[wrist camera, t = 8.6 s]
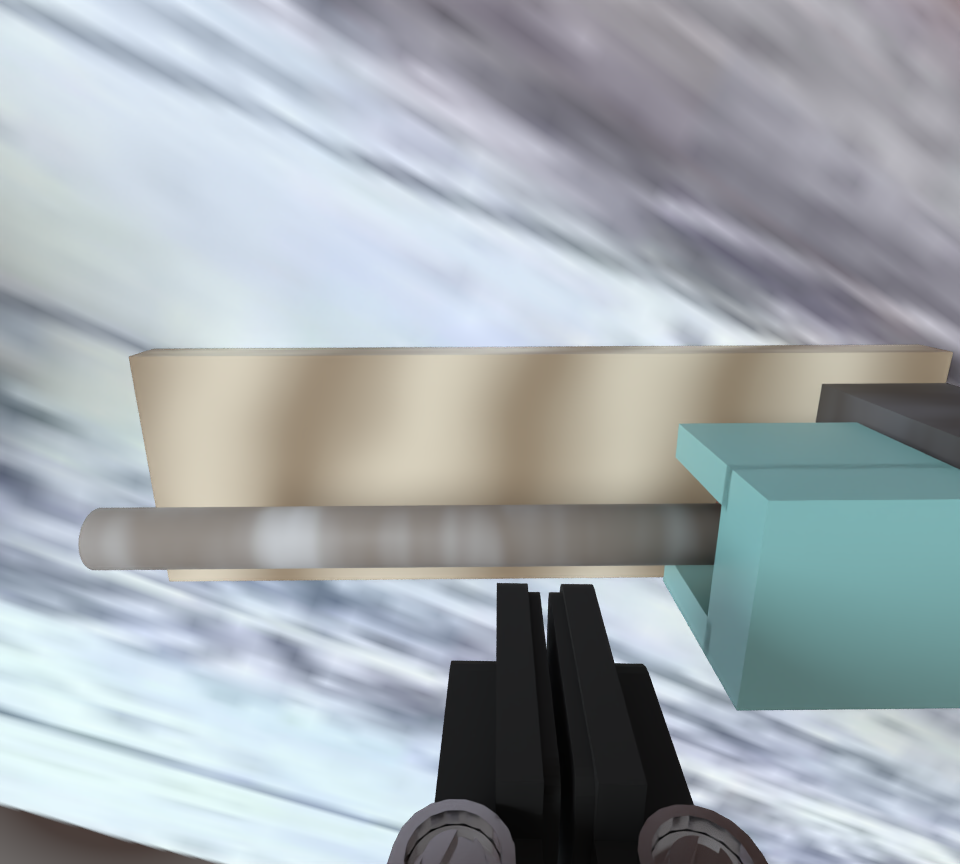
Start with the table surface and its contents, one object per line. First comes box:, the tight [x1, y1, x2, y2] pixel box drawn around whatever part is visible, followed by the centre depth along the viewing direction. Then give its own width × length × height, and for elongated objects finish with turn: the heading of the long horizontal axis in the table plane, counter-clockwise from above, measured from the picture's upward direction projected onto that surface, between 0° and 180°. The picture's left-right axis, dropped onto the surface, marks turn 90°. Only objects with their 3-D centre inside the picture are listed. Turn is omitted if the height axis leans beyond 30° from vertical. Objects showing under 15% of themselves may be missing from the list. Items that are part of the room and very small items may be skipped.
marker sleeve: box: [663, 422, 960, 710], centre depth 15 cm, size 5×5×5 cm
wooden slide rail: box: [79, 345, 960, 581], centre depth 17 cm, size 26×8×8 cm, turn 90°
